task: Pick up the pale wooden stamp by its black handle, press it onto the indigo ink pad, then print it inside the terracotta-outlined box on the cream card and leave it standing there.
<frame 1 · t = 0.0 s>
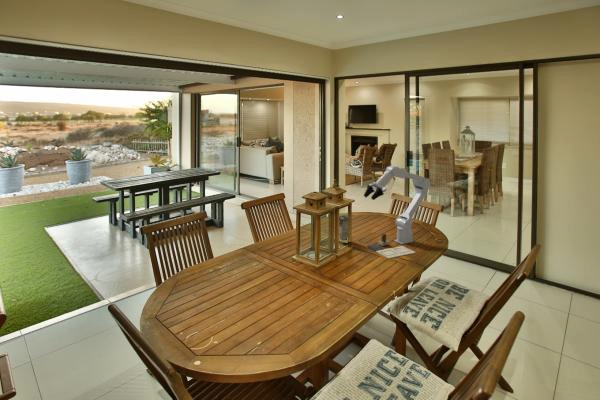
hand: (368, 197, 216), 32 cm above the table, tool tilted 50°, fingers open, 7 cm apart
ink pad: (375, 248, 223), on the table
paper card: (395, 252, 216), on the table
stamp: (383, 245, 228), on the table
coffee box: (343, 241, 237), on the table
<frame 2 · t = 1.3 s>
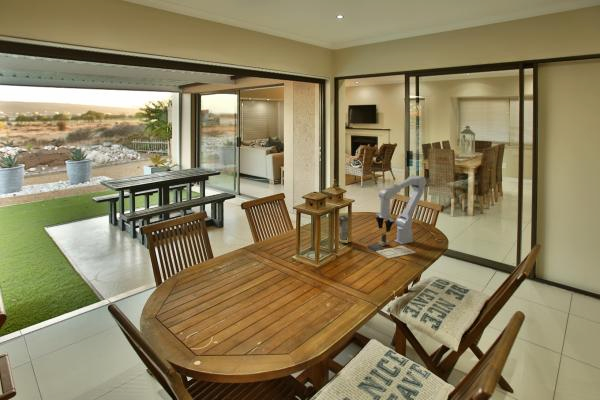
hand: (384, 229, 226), 10 cm above the table, tool pointing down, fingers open, 7 cm apart
nothing on the table moved.
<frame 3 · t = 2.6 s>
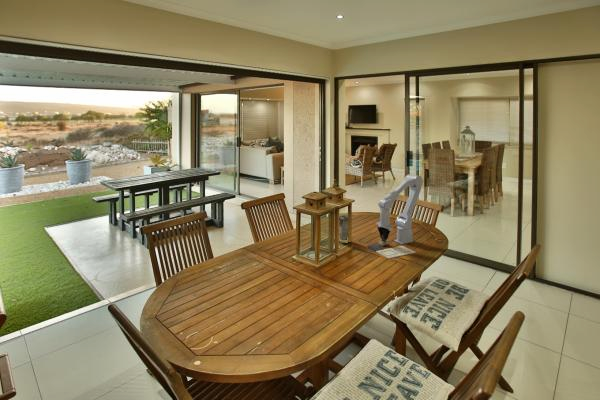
hand: (383, 238, 227), 4 cm above the table, tool pointing down, fingers closed on stamp, 3 cm apart
stamp: (383, 245, 228), on the table, touching gripper
everything else where it was.
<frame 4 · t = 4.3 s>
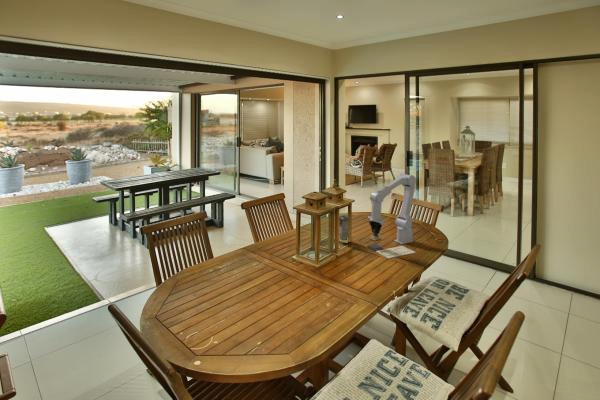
hand: (375, 233, 221), 10 cm above the table, tool pointing down, fingers closed on stamp, 3 cm apart
stamp: (375, 240, 222), point 5 cm above the table, touching gripper
everything else where it was.
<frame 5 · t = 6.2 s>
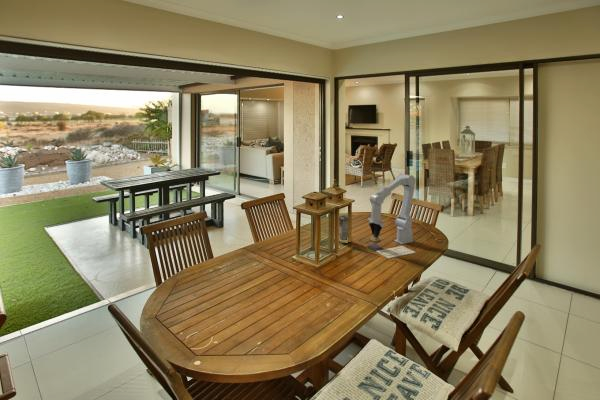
hand: (375, 235, 221), 9 cm above the table, tool pointing down, fingers closed on stamp, 3 cm apart
stamp: (375, 241, 222), point 5 cm above the table, touching gripper
everything else where it was.
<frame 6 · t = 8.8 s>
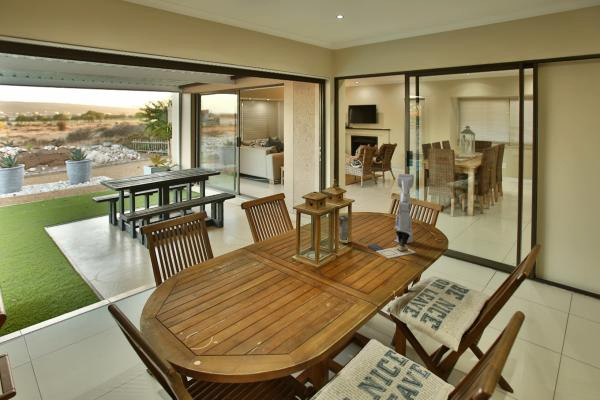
hand: (402, 243, 217), 5 cm above the table, tool pointing down, fingers closed on stamp, 3 cm apart
stamp: (402, 250, 218), resting on paper card, touching gripper
everything else where it was.
when the fingers open (4 cm above the table, at t = 10.2 s): stamp stays where it is, resting on paper card.
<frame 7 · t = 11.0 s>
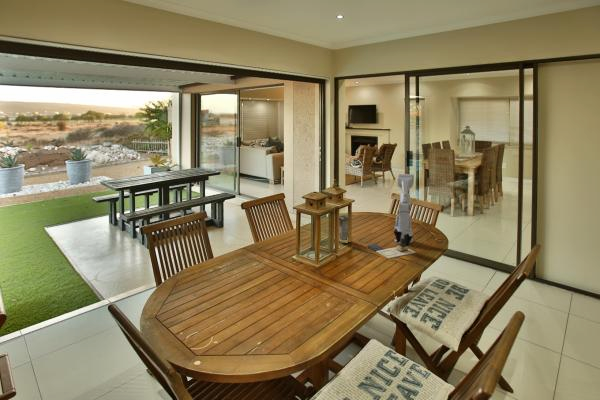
hand: (402, 244, 217), 4 cm above the table, tool pointing down, fingers open, 7 cm apart
stamp: (402, 250, 218), resting on paper card
everything else where it was.
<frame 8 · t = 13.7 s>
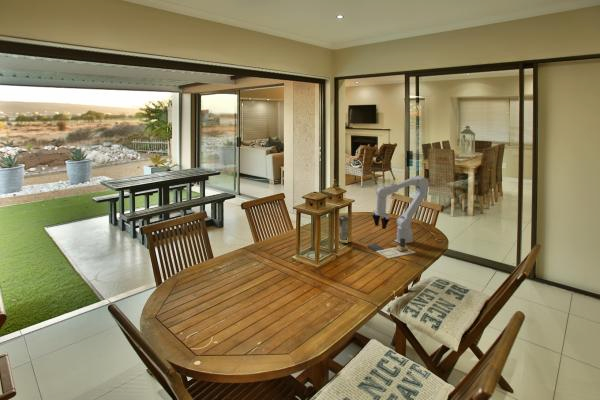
hand: (380, 227, 231), 10 cm above the table, tool pointing down, fingers open, 7 cm apart
nothing on the table moved.
at the end: stamp 0.1 cm from the target spot on the paper card, point 0.4 cm above the paper card's base; stamp tilted 0°; the gripper is holding nothing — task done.
